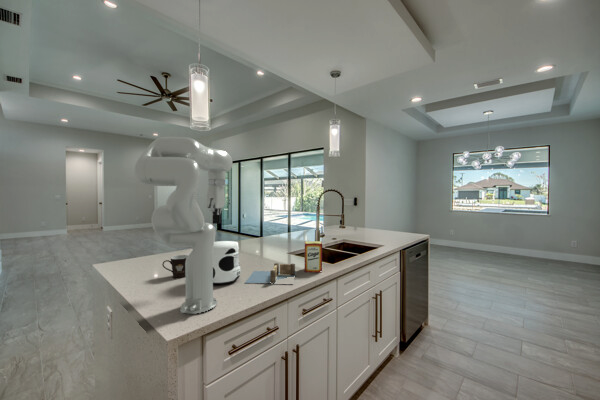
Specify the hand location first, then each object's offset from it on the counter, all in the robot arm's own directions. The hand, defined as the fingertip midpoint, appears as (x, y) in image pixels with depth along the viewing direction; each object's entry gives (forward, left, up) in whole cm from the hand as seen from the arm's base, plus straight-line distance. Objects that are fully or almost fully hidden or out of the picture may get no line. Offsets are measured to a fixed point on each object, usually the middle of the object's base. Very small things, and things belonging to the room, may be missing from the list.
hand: (216, 223), depth 114 cm
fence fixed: (+16, -30, -29) cm, 44 cm away
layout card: (+12, -24, -29) cm, 39 cm away
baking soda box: (+26, -45, -29) cm, 59 cm away
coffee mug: (+10, +24, -29) cm, 39 cm away
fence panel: (+8, -26, -28) cm, 39 cm away
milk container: (+6, -1, -29) cm, 29 cm away
